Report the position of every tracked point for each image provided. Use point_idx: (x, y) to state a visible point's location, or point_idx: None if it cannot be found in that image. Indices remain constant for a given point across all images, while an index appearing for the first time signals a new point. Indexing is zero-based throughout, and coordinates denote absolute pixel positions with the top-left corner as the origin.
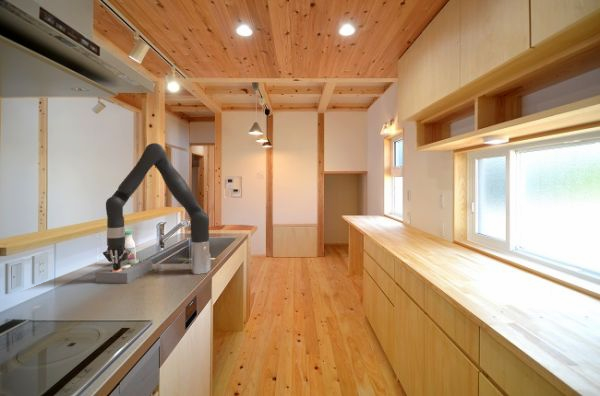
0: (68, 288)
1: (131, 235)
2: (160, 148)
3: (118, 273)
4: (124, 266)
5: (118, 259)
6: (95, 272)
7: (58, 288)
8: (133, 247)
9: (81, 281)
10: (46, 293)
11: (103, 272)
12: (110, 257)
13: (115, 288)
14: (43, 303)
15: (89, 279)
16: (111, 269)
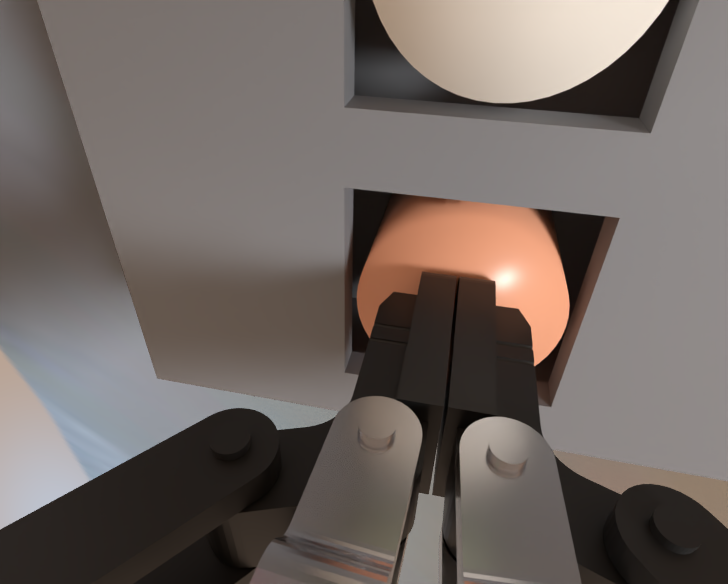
0: (129, 399)
1: None
2: None
3: (583, 448)
4: (496, 4)
5: (466, 524)
6: (159, 376)
7: (49, 388)
8: None
9: (35, 236)
10: (84, 457)
11: (289, 397)
12: (112, 525)
13: (603, 462)
14: None
15: (46, 169)
16: (297, 254)
